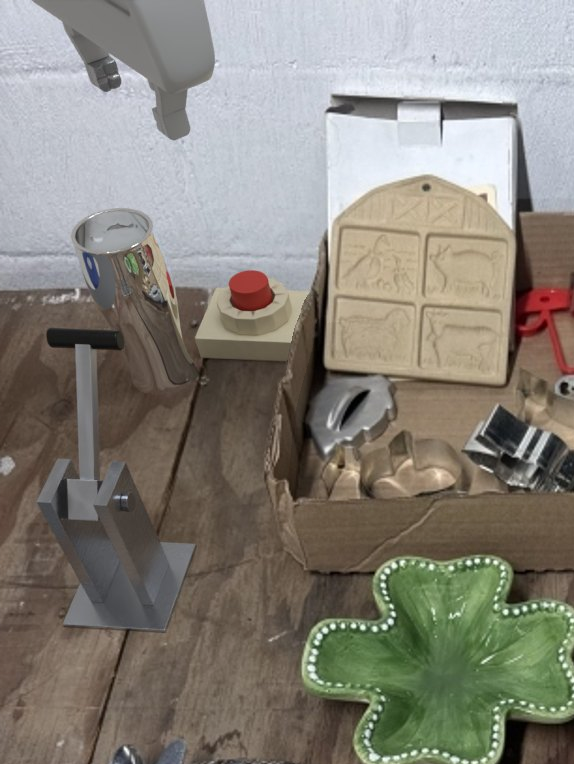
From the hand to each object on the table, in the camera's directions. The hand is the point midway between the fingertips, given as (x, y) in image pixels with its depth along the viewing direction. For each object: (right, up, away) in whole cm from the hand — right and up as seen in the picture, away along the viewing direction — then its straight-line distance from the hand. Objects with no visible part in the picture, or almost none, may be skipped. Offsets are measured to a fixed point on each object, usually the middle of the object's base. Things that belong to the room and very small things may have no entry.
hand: (140, 109), depth 77 cm
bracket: (-3, -34, +8) cm, 35 cm away
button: (+2, -5, +23) cm, 24 cm away
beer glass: (-6, -13, +23) cm, 27 cm away
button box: (+2, -7, +26) cm, 27 cm away
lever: (-3, -23, 0) cm, 23 cm away
